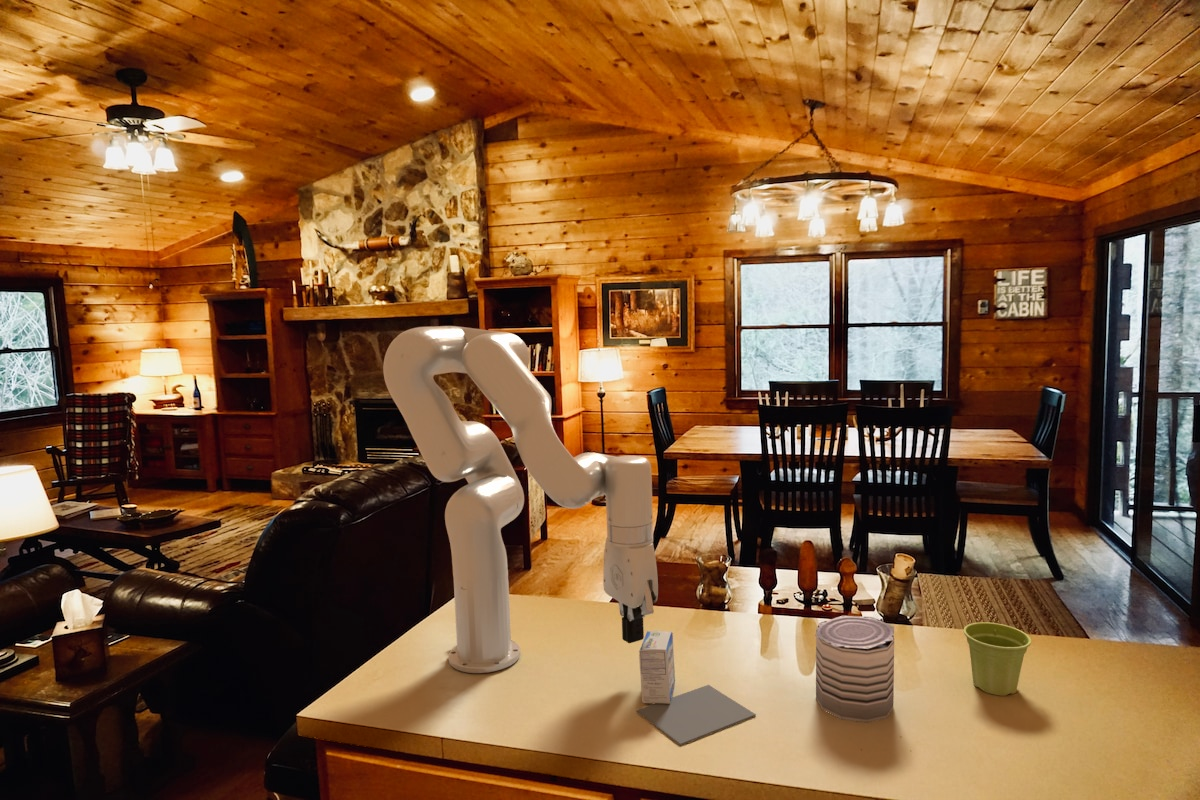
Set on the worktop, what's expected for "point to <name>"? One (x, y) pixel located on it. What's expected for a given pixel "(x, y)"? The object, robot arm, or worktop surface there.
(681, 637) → the worktop surface
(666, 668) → the medicine box
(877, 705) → the can
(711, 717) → the mat
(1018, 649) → the plant pot
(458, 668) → the robot arm
